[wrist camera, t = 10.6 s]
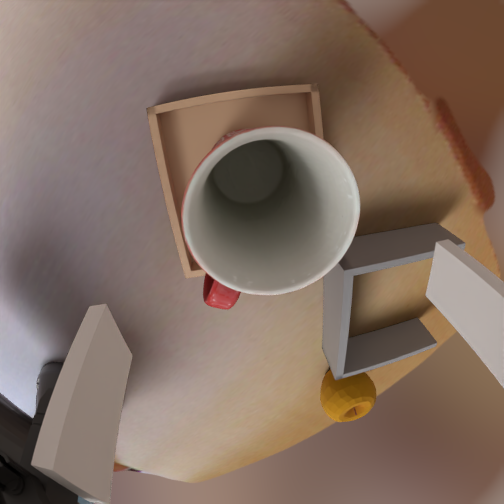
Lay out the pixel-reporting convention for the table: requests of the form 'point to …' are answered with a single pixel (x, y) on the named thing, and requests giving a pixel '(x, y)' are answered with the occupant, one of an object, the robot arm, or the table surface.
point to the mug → (268, 212)
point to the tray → (219, 136)
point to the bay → (340, 297)
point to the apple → (347, 396)
